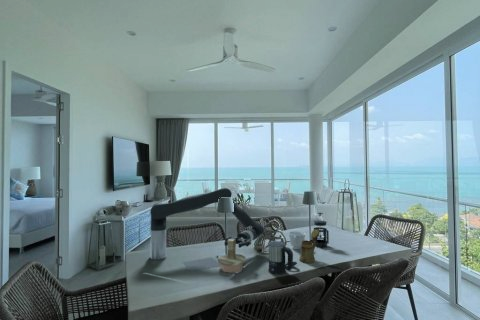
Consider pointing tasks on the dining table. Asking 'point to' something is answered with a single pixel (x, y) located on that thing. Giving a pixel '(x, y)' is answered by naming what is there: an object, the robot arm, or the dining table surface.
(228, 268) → the terracotta bowl
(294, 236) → the teacup
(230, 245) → the oak lid
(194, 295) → the dining table surface
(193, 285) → the dining table surface
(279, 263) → the milk frother
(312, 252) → the wooden mug
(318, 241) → the french press
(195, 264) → the grey flat slab
